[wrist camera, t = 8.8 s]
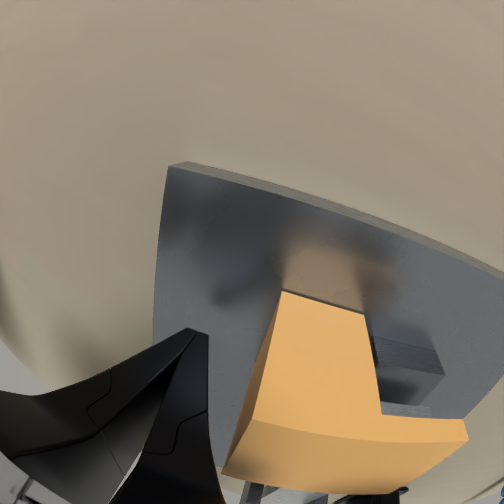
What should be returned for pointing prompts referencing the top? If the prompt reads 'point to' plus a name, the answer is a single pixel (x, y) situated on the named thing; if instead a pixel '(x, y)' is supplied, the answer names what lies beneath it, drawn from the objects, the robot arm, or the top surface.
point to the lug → (328, 411)
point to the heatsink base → (320, 293)
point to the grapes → (503, 502)
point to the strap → (296, 499)
